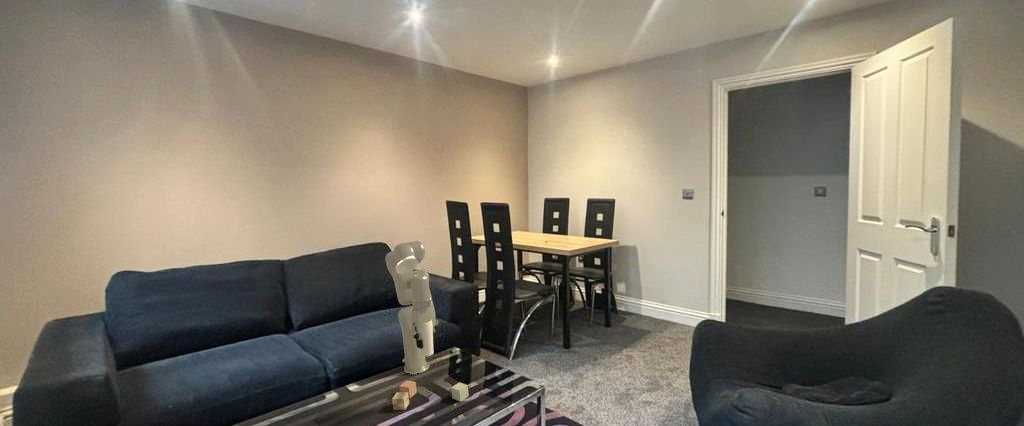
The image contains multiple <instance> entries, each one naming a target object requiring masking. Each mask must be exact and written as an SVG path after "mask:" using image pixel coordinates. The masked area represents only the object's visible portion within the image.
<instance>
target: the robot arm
mask: <svg viewBox="0 0 1024 426" xmlns="http://www.w3.org/2000/svg"><path fill="white" fill-rule="evenodd" d="M425 255H426V248H425V245H424V243H422V241H419V240H416V241H415V240H414V241H407V242H402V243H399V244H397V245H396V246H394V248H393V250H392V251H389V252H388V253H386V255H385V258H384V259H385V264H386V267H387V270H388V272H389V273H390V275H391V277H392V280H393V282H394V287H395V292H396V297H397V300H398V302H399V304H400V305H402V306H405V307H403V308H401V309H400V310H399V311H398V314H397V316H398V321H399V324H400V328H401V334H402V341H403V349H404V350H403V351H404V358H403V359H402V360H401V361H402V363H404V367H403V368H404V369H405V372H407V373H410V374H409V375H411V374H412V375H418V374H417V373H419V374H423V373H424V372H426V371H427V370H429V368H430V363H429V362H428V361H426V357H424V356H422V355H421V351H420V349H422V348H423V343H422V339H421V333H422V332H423V323H427V322H429V321H431V320H432V325H433V343H436V332H437V330H436V329H437V328H438V325H439V323H440V321H439V320H438V319H436V311H435V305H434V301H433V297H432V292H431V289H430V275H429V272H428V271H426V269H416V268H417V267H418V265H419V264H421V263H422V261H423V259H424V258H425ZM415 269H416V270H415ZM411 304H412V305H411ZM418 333H419V335H418Z"/></svg>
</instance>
